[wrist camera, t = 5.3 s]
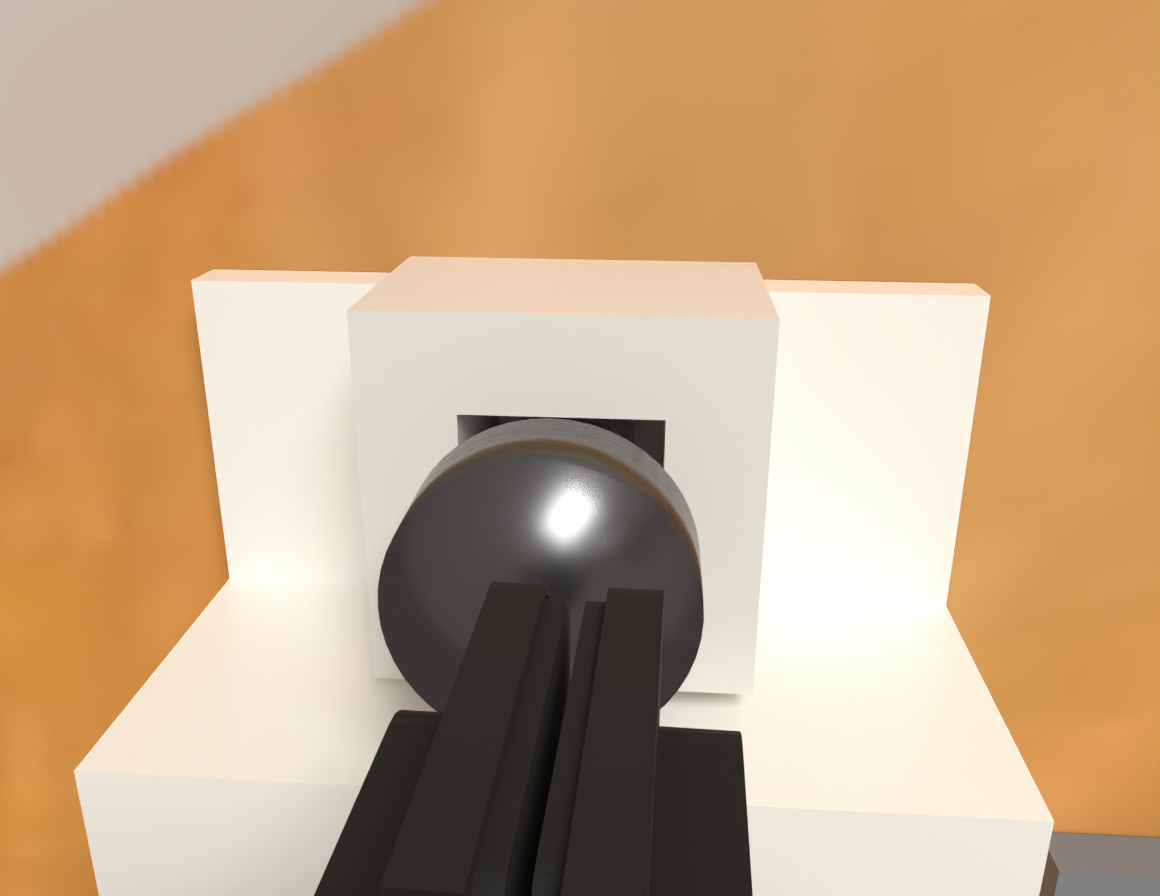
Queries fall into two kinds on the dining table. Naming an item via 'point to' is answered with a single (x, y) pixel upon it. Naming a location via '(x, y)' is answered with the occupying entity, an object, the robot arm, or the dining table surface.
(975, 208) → the dining table surface
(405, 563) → the plunger
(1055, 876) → the mat
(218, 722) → the housing
